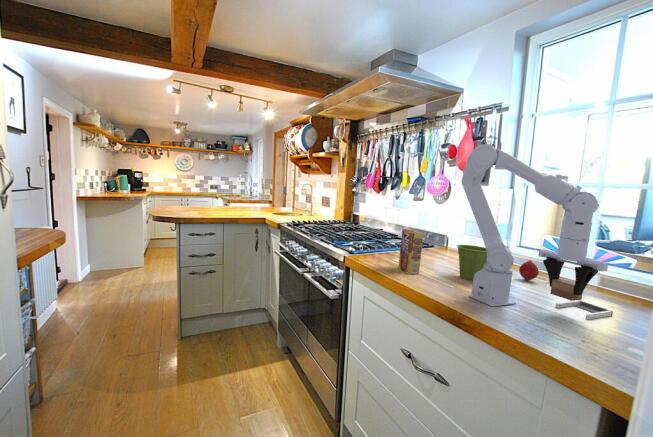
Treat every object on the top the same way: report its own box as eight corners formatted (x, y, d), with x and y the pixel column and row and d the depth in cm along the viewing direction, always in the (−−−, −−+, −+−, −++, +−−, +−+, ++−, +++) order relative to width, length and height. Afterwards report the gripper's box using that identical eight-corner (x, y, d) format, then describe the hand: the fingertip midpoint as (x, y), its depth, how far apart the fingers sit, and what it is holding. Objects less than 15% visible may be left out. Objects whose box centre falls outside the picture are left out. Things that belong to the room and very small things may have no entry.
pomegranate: (540, 284, 104) (543, 262, 103) (522, 282, 105) (525, 260, 104) (532, 279, 110) (535, 258, 109) (515, 277, 111) (518, 256, 110)
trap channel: (588, 319, 75) (589, 315, 75) (555, 307, 82) (556, 303, 82) (612, 315, 79) (612, 311, 79) (578, 304, 86) (579, 300, 86)
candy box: (420, 274, 106) (424, 232, 104) (409, 274, 105) (413, 232, 103) (408, 267, 114) (411, 228, 113) (397, 267, 113) (401, 228, 112)
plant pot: (496, 285, 99) (501, 252, 98) (461, 282, 99) (465, 250, 98) (479, 274, 111) (483, 245, 110) (447, 272, 111) (451, 243, 110)
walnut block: (571, 300, 74) (573, 285, 73) (550, 293, 78) (552, 279, 78) (581, 299, 75) (584, 284, 75) (560, 292, 80) (562, 278, 79)
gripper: (619, 244, 70) (609, 300, 71) (553, 234, 83) (545, 280, 85) (601, 245, 67) (591, 302, 69) (536, 233, 80) (529, 282, 82)
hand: (565, 290), depth 76 cm, fingers closed on walnut block, 5 cm apart
